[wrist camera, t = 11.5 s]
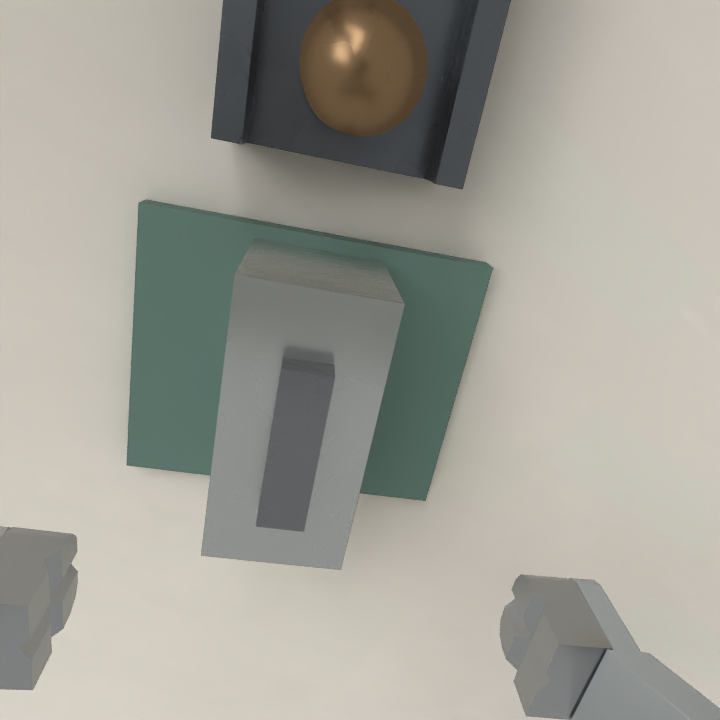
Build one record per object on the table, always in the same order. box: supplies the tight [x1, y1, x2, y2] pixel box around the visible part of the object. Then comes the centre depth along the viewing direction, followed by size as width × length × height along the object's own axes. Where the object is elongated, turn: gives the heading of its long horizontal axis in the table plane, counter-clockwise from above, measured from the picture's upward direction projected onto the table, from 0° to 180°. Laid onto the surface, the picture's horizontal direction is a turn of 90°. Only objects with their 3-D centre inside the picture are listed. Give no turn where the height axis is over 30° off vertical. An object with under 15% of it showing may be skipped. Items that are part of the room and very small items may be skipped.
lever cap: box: [201, 238, 405, 570], centre depth 18 cm, size 9×4×6 cm, turn 169°
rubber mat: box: [127, 200, 493, 501], centre depth 21 cm, size 10×12×1 cm
